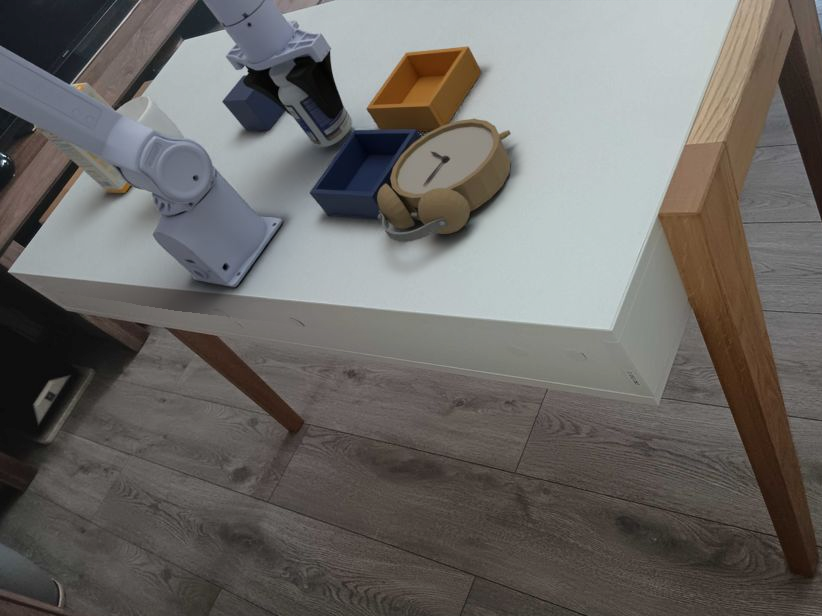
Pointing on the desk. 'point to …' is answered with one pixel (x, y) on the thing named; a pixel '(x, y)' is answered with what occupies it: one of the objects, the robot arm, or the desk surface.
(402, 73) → the amber bin
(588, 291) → the desk surface
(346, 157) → the navy bin
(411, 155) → the alarm clock
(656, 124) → the desk surface
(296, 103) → the pill bottle
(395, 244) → the desk surface
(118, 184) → the supplement box
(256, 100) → the navy block
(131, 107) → the mug
